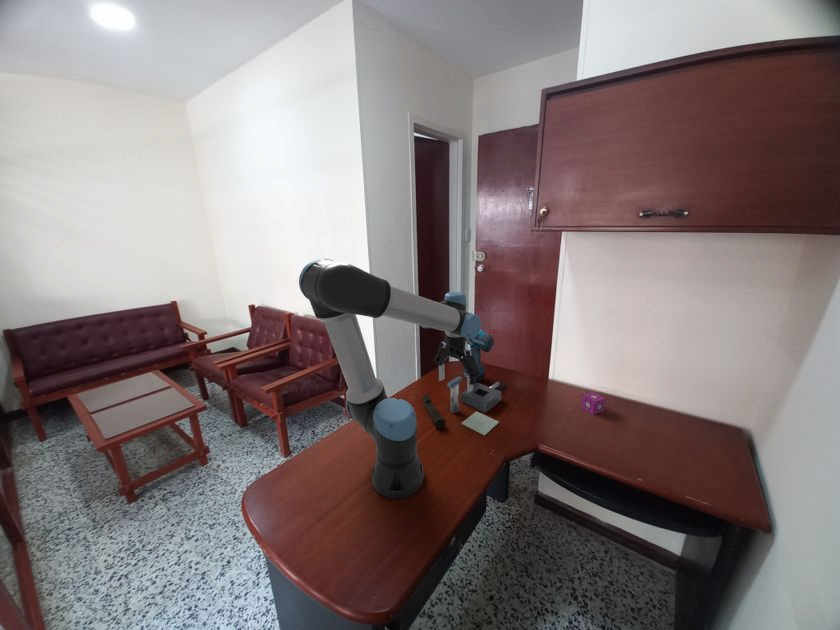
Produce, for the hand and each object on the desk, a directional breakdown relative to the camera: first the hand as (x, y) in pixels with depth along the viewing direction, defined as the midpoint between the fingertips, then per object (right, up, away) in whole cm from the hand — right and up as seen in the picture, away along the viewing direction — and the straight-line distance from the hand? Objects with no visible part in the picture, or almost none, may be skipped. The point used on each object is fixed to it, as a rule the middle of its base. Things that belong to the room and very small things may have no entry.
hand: (455, 385), depth 120 cm
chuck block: (+15, -8, +12) cm, 21 cm away
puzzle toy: (+54, -10, +2) cm, 55 cm away
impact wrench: (+11, -3, +30) cm, 32 cm away
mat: (+9, -13, -5) cm, 16 cm away
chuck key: (0, -11, +3) cm, 11 cm away
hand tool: (-10, -12, +1) cm, 16 cm away
